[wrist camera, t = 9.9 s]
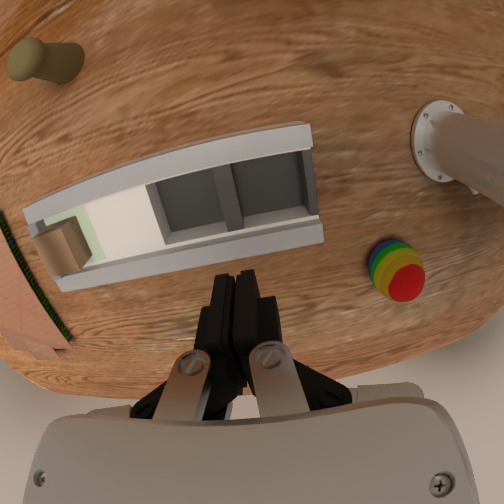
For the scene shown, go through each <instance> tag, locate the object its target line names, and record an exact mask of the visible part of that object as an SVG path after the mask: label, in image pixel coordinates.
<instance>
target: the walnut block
mask: <svg viewBox="0 0 504 504" xmlns="http://www.w3.org/2000/svg"><path fill="white" fill-rule="evenodd" d="M31 240H32V242H33V244H34V246H35V248H36V250H37V252H38V254H39V257H40V259H41V261H42V263H43V265H44V266H45V268H46V270H47V272H48V274H49V276H50V277H55V276H59V275H63V274H67V273H72V272H76V271H80V270H81V269H82V268H83V266H84V265H85V264H86V262H87V261H88V260H89V259H90V257H91V256H92V252H91V250H90V248H89V246H88V244H87V241H86V239H85V237H84V234H83V232H82V230H81V227H80V225H79V222H78V220H77V217H76V215H75V216H72V217H70V218H67V219H64V220H61V221H59V222H56V223H53V224H51V225H48V226H46V227H45V228H44V229H42V230H41V231H40V232H39V233H38V234H37V235H36V236H34V237H33V238H32V239H31Z"/></svg>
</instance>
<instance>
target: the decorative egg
mask: <svg viewBox="0 0 504 504" xmlns="http://www.w3.org/2000/svg"><path fill="white" fill-rule="evenodd" d="M368 266H369V275H370V278H371V280H372V282H373V284H374V286H375V287H376V288H377V289H378V291H379V292H380V293H382V294H383V295H384V296H386V297H387V298H389V299H392V300H394V301H399V302H406V301H411V300H413V299H415V298H416V297H417V296H418V295H419V294H420V293H421V291H422V289H423V286H424V281H425V271H424V267H423V263H422V261H421V259H420V257H419V255H418V254H417V252H416V251H415V250H414V249H413V248H412V247H411V246H410V245H408V244H407V243H405V242H402V241H399V240H388V241H384V242H382V243H380V244H379V245H378V246H377V247H376V248H375V249H374V250H373V252H372V253H371V256H370V259H369V265H368Z"/></svg>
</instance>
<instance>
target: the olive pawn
mask: <svg viewBox="0 0 504 504" xmlns="http://www.w3.org/2000/svg"><path fill="white" fill-rule="evenodd" d="M83 62H84V51H83V49H82V47H81V46H80V45H79V44H76V43H43V42H42V41H41V40H39V39H37V38H32V37H31V38H27V39H23V40H22V41H20V42H19V43H17V44H16V45H15V46H14V47H13V48H12V50H11V52H10V53H9V56H8V58H7V62H6V72H7V75H8V76H9V77H10V78H11V79H12V80H15V81H24V80H28V79H30V78H31V77H34V78H39V79H43V80H48V81H52V82H56V83H60V84H61V83H67V82H69V81H71V80H72V79H73V78H75V77H76V76H77V74H78V73H79V72H80V70H81V68H82V66H83Z"/></svg>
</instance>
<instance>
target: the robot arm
mask: <svg viewBox="0 0 504 504" xmlns="http://www.w3.org/2000/svg"><path fill="white" fill-rule="evenodd" d="M411 146H412V152H413V156H414V159H415V161H416V163H417V165H418V167H419V168H420V170H421V171H422V172H423V173H424V174H425V175H426V176H427V177H429V178H431V179H433V180H435V181H437V182H449V181H452V180H454V179H455V180H457V181H459V182H461V183H463V184H465V185H467V186H468V188H469V190H470V191H471V193H472V194H478V193H481V194H483V195H485V196H486V197H488V198H490V199H491V200H493V201H495V202H496V203H498V204H500V205H501V206H503V207H504V123H500V122H497V121H493V120H489V119H485V118H480V117H476V116H471V115H467V114H464V113H463V111H462V110H461V109H460V108H459V107H458V106H457V105H455V104H453V103H452V102H449V101H445V100H434V101H431V102H429V103H427V104H426V105H424V106H423V107H422V108H421V109H420V111H419V112H418V114H417V116H416V118H415V120H414V123H413V126H412V132H411ZM247 381H248V384H249V386H250V389H251V391H252V394H253V395H254V396H255V397H256V399H257V404H258V408H259V413H260V418H250V419H237V420H230V416H231V411H232V404H233V403H232V400H233V399H235V398H236V397H237V395H243V388H244V387H247ZM434 476H435V477H434ZM441 481H442V482H441ZM441 497H442V498H441ZM23 504H480V503H479V498H478V492H477V488H476V484H475V479H474V475H473V471H472V467H471V464H470V461H469V457H468V454H467V451H466V448H465V446H464V443H463V440H462V438H461V435H460V433H459V431H458V429H457V427H456V425H455V423H454V421H453V419H452V418H451V416H450V415H449V413H448V412H447V410H446V409H445V408H444V407H443V406H442V405H441V404H439V403H438V402H436V401H433V400H430V399H426V398H424V394H423V391H422V389H421V388H420V387H419V386H418V385H416V384H414V383H409V382H404V383H393V384H379V385H359V386H358V387H357V388H347V387H345V386H344V385H342V384H340V383H338V382H336V381H334V380H332V379H330V378H328V377H327V376H325V375H323V374H321V373H319V372H317V371H315V370H313V369H311V368H309V367H307V366H305V365H304V364H302V363H300V362H298V361H296V360H294V359H292V356H291V353H290V351H289V349H288V347H287V346H286V345H285V344H283V343H282V334H281V325H280V318H279V312H278V307H277V302H276V297H275V296H271V297H265V298H260V293H259V289H258V285H257V281H256V276H255V272H254V269H251V270H245V271H241V275H237V276H236V282H235V279H234V276H229V274H228V273H227V274H221V275H216V276H215V280H214V285H213V291H212V297H211V302H210V306H204V307H202V309H201V313H200V318H199V323H198V328H197V333H196V338H195V344H194V349H193V350H190V351H187V352H185V353H183V354H182V355H180V356H179V357H178V358H177V360H176V361H175V363H174V365H173V368H172V370H171V373H170V375H169V378H168V380H167V381H165V382H164V383H163V384H161V385H160V386H159V387H157V388H156V389H155V390H153V391H152V392H151V393H149V394H148V395H146V396H145V397H144V398H142V399H141V400H140V401H138V402H137V403H136V404H135V405H134V406H133V407H131V406H130V405H125V406H118V407H111V408H103V409H95V410H92V411H90V412H89V413H87V414H77V415H69V416H65V417H61V418H58V419H56V420H54V421H53V422H52V423H50V424H49V425H48V427H47V428H46V430H45V431H44V433H43V435H42V438H41V440H40V442H39V444H38V447H37V449H36V453H35V455H34V458H33V462H32V465H31V469H30V472H29V476H28V480H27V484H26V488H25V493H24V497H23Z"/></svg>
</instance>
